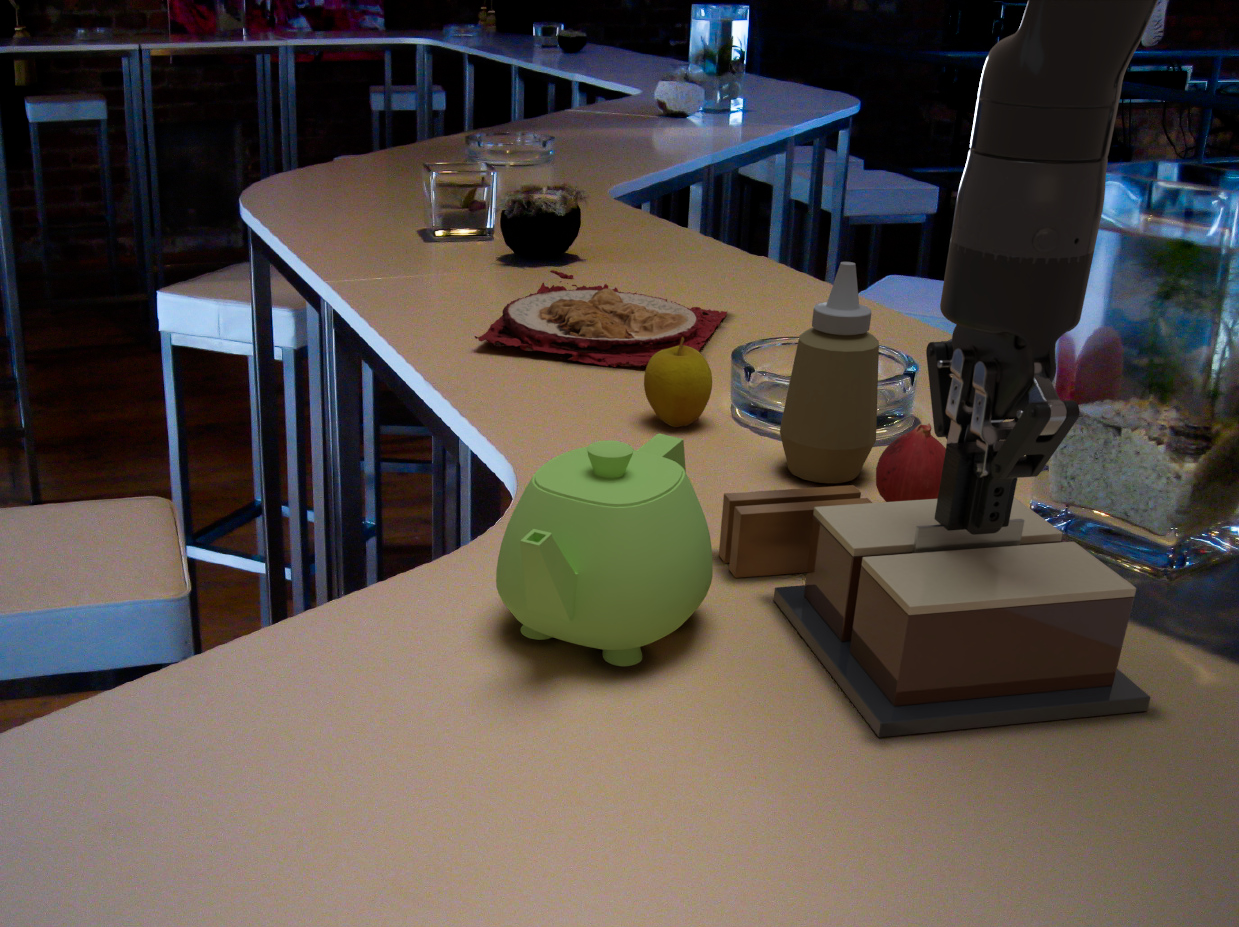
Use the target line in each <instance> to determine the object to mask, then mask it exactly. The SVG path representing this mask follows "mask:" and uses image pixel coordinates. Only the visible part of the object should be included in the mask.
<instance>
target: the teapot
mask: <svg viewBox="0 0 1239 927" xmlns="http://www.w3.org/2000/svg"><path fill="white" fill-rule="evenodd" d="M684 443H685V441H684V438H680V437H677V436H672V435H667V434H664V433H657V434H655V435H654V436H653V437H652V438H650V439H649V440H648V441H647V442H645V443H644V444H643V445H642V446H641V447H639V448H638V449H637V450H636V449H634V447H633V446H632V445H630V444H628V443H626V442H622V441H619V440H613V439H609V440H608V439H607V440H599V441H594V442H592V443H590V444H589V445H587V446H584V447H579V448H575V449H572V450H568V451H566V452H563V453H561V454H559V455H557V456H554V457H553V458H550V459H549V460H548V461H546V462H545V463H544V464H543V465H541V466H540V467H539V468H538V469H537V470H536V471H535V472H534V474H533V476H532V477H531V479H530V480H529V482H528V483H527V484H526V487H525V488H524V490H523V492H522V494H521V496H520V498H519V500H518V502H517V503H516V505H515V508H514V509H513V512H512V514H511V516H510V519H509V520H508V523H507V525H506V527H505V532H504V534H503V537H502V540H501V544H500V547H499V552H498V558H497V563H496V571H495V572H496V573H495V583H496V584H495V585H496V590H497V593H498V596H499V598H500V599H501V601H502V602H503V605H504V606H505V607H506V608H507V609H508V611H509V612H510V613H511V614H512V615H513V616H514V618H515V619H516V620H517V622H519V623H521V624H522V625H521V627H520V633H521V635H523V636H524V637H525V638H528V639H532V640H537V641H538V640H539V641H540V640H541V641H542V640H549V639H552V638H555V639H557V640H560V641H564V642H567V643H571V644H575V645H578V646H583V647H587V648H594V649H597V650H602V658H603V660H604V661H605V662H607V663H608V664H611V665H613V666H618V667H631V666H635V665H638V664H639V663H640V662H641V661H642V660H643V653H642V648H641V647H644V646H647V645H650V644H652V643H654V642H657V641H659V640H661V639H663V638H664V637H667V636H668V635H670V634H672V633H673V632H675V631H676V630H677V629H679V628H680V627H681V626H682V625H684V623H685V622H687V620H688V619H690V617H691V616H692V615H693V614H694V613H695V612H696V610H698V609H699V607H700V605H702V603H703V602H704V600H705V598H706V597H707V595H708V593H709V590H710V588H711V585H712V581H713V571H714V570H713V567H714V562H713V546H712V539H711V533H710V528H709V526H708V521H707V518H706V516H705V512H704V510H703V507H702V505H701V503H700V500H699V498H698V495H697V493H696V491H695V489H694V487H693V484H692V481H691V479H690V478H689V475H688V474H687V470H686V468H687V467H686V456H685V444H684Z"/></svg>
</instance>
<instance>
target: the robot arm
mask: <svg viewBox="0 0 1239 927" xmlns="http://www.w3.org/2000/svg"><path fill="white" fill-rule="evenodd" d="M1158 2H1159V0H1027V4H1026V7H1025V10H1024V13H1023V16H1022V20H1021V23H1020V26H1019V28H1018V29H1017V31H1016V32H1015V33H1013V34H1010V35H1009V36H1006V37H1004V38H1002V39H1001V40H999V41H998V42H997V43H995V44H994V46H992V48H990V50H989V51H988V54H987V56H986V58H985V61H984V65H983V68H982V73H981V77H980V81H979V87H978V91H977V99H976V102H975V110H974V117H973V124H972V130H971V136H970V141H969V143H970V144H969V148H970V149H969V150H968V153H967V159H966V163H965V167H964V169H963V173H962V175H961V180H960V183H959V186H958V191H957V197H956V201H955V206H954V215H953V219H952V227H951V233H950V240H949V245H948V246H949V247H948V253H947V258H946V265H945V272H944V279H943V284H942V290H941V298H940V303H939V305H940V306H939V310H940V313H941V315H942V316H943V317H944V318H945V319H946V320H947V321H949V322H951V323H952V324H955V326H954V328H953V330H952V334H951V338H950V339H947V340H941V341H930V342H928V343H927V346H926V350H925V354H926V364H927V374H928V383H929V394H930V404H931V413H932V421H933V422H932V423H933V432H934V434H935V436H936V437H937V438H945V439H946V444H945V446H946V445H947V444H948V443H964V442H976V449H975V456H974V463H973V470H974V474H972V477H971V482H970V488H969V494H968V499H967V505H966V511H965V516H964V522H963V527H964V528H965V529H966V530H967V531H968V532H969V533H971V534H973V535H977V534H992V533H997V532H998V531H999V530H1000V529H1001V528H1002V525H1003V522H1004V519H1005V514H1006V513H1005V512H1006V509H1007V507H1006V506H1007V503H1008V498H1009V493H1010V488H1011V483H1012V481H1013V479H1014V478H1017V479H1020V478H1021V479H1022V478H1036V477H1038V476H1039V475H1040V474H1041V472H1042V471H1043V470H1044V468H1045V467H1046V465H1047V464H1048V462H1049V461H1050V460H1051V458H1052V456H1053V455H1054V453H1055V452H1056V451H1057V449H1059V447H1060V446H1061V444H1062V442H1063V441H1064V439H1065V438H1066V437H1067V435H1068V434H1069V432H1070V431H1071V430H1072V428H1073V426H1074V425H1075V424H1076V422H1077V421H1078V419H1079V416H1080V406H1079V404H1078V401H1076V400H1072V399H1071V400H1061V398H1060V396H1059V395H1058V393H1057V391H1056V389H1055V387H1054V384H1053V382H1054V380H1055V377H1056V375H1057V362H1056V361H1057V360H1056V345H1057V342H1058V341H1059V339H1060V338H1061V337H1062V336H1064V335H1065V334H1066V333H1068V332H1071V331H1073V330H1074V329H1075V328H1077V326H1078V325H1079V324H1080V321H1081V318H1082V314H1083V310H1084V309H1083V308H1084V303H1085V299H1086V294H1087V289H1088V284H1089V279H1090V274H1091V269H1092V263H1093V260H1094V259H1093V258H1094V254H1095V249H1096V245H1097V244H1096V243H1097V239H1098V235H1099V230H1100V225H1101V220H1102V216H1103V209H1104V205H1105V198H1106V180H1107V178H1106V177H1107V169H1108V168H1107V167H1108V162H1109V161H1108V160H1109V158H1108V156H1109V153H1110V150H1111V149H1110V148H1111V144H1112V138H1113V134H1114V130H1115V124H1116V119H1117V116H1118V115H1117V114H1118V108H1119V104H1120V99H1121V95H1122V87H1123V81H1124V76H1125V74H1126V71H1127V69H1128V67H1129V64H1130V62H1131V60H1132V58H1133V56H1134V55H1135V52H1136V50H1137V49H1138V47H1139V45H1140V43H1141V41H1142V39H1143V37H1144V35H1145V32H1146V30H1147V27H1148V26H1149V23H1150V21H1151V18H1152V16H1153V14H1154V11H1155V10H1156V6H1157V5H1158ZM1007 420H1008V421H1007ZM1009 420H1010V421H1009ZM999 440H1005V442H1004V443H1003V445H1002V446H1001V448H1000V449H999V451H998V452H997V454H996V456H993V453H994V446H995V443H996V442H997V441H999Z"/></svg>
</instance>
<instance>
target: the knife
mask: <svg viewBox="0 0 1239 927" xmlns="http://www.w3.org/2000/svg"><path fill="white" fill-rule="evenodd" d="M1004 442H1005V440H999V441H997V442H996V443H995V446H994V453H993V456H996V454H997V452H998V451H999V449H1000V448H1001V446H1002V445H1003V443H1004ZM945 448H946V451H945V457H944V463H943V469H942V475H941V481H940V487H939V493H938V499H937V506H936V512H935V520H936V521H937V522H938V523H940V524H939V525H925V526H917V527H916V533H915V539H914V546H913V552H912V553H925V552H939V551H952V550H966V549H979V548H993V547H1006V546H1020V541H1021V536H1022V531H1023V526H1024V520H1023V519H1011V520H1010V515H1011V509H1012V504H1013V499H1014V497H1015V493H1016V488H1017V482H1018V478H1014V479H1013V481H1012V483H1011V488H1010V493H1009V498H1008V503H1007V506H1006V507H1007V509H1006V512H1005V513H1006V514H1005V519H1004V522H1003V525H1002V528H1001V529H1000V530H999V531H998V532H997V533H992V534H977V535H973V534H971V533H969V532H968V531H967V530H966V529H965V528H964V527H963V522H964V516H965V511H966V505H967V499H968V494H969V488H970V482H971V477H972V474H974V470H973V463H974V456H975V449H976V442H964V443H948V444H947V445H946V444H945Z"/></svg>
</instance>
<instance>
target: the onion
mask: <svg viewBox="0 0 1239 927" xmlns="http://www.w3.org/2000/svg"><path fill="white" fill-rule="evenodd" d="M932 429H933V428H932V425H931V423H930V422H929V423H928V422H922V423H920V424H918V425H917V426H916V427H915V428H914V429H912V430H910V431H908V432H905V433H904V434H902V435H899V437H897V438H896V439H894V440H893V441H892V442H891V443H889V445H887V447H886V448H885V449H884V450H883V451H882V453H881V455H880V456H879V458H878V460H877V464H876V468H875V486H876V489H877V491H878V494H879V496H880V497H881V498H882V499H883V500H884V502H896V501H910V500H925V499H938V493H939V487H940V481H941V475H942V469H943V463H944V457H945V451H946V446H944V445H943V443H941V441H939V440H938V439H937V438H935V437H934V436H933V435H932Z"/></svg>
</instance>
